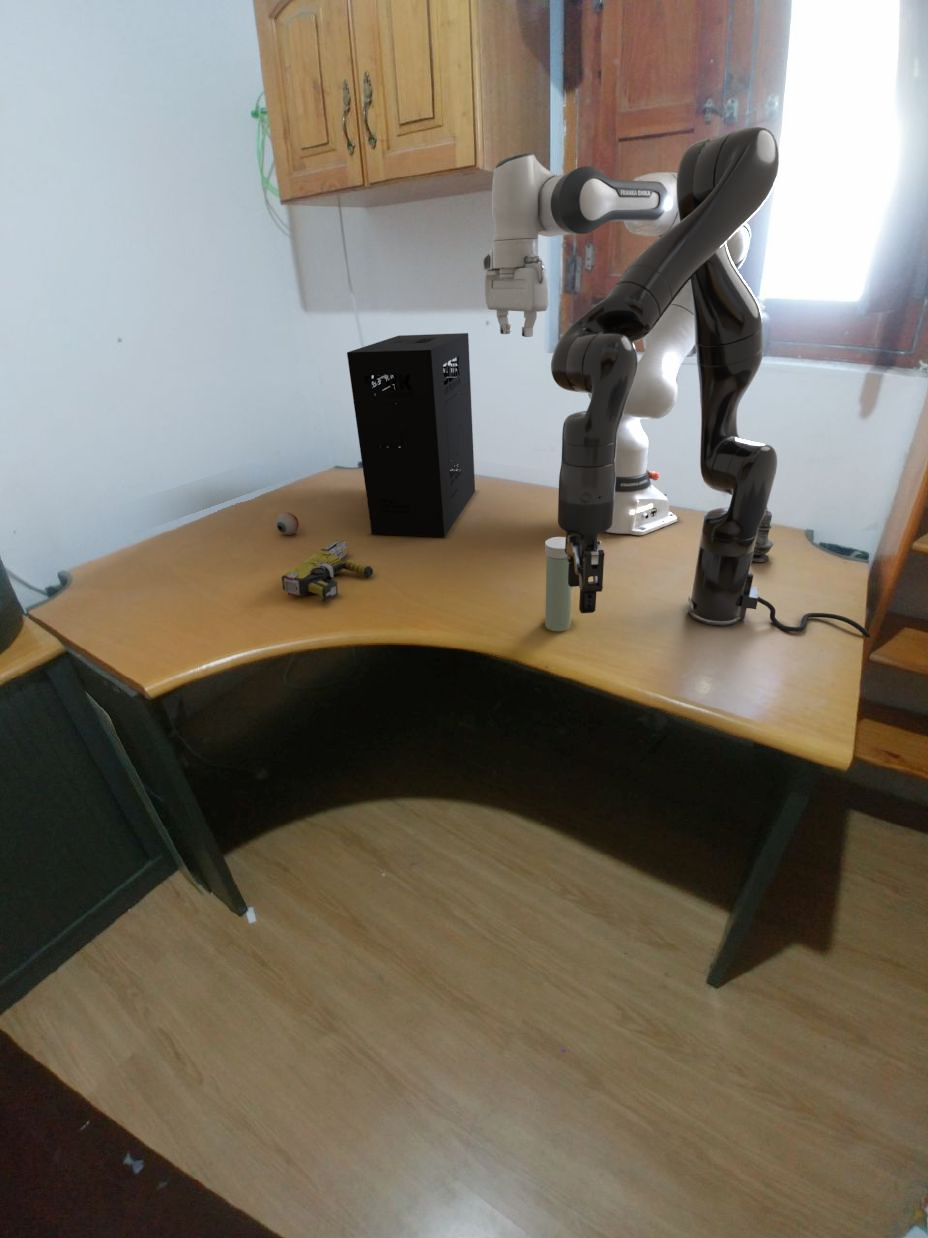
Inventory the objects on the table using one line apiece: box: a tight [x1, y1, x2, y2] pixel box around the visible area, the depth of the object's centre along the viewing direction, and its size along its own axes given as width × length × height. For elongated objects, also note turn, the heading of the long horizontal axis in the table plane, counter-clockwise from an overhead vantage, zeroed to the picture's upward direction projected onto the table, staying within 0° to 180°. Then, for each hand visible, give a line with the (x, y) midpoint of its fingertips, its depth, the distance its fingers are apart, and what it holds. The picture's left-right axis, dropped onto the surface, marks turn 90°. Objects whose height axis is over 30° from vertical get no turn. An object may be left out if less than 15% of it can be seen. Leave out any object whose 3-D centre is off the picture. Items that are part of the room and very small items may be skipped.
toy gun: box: [281, 539, 374, 603], centre depth 138 cm, size 5×24×15 cm
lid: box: [544, 536, 567, 559], centre depth 108 cm, size 5×5×2 cm
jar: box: [544, 555, 573, 632], centre depth 112 cm, size 5×5×17 cm
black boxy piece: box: [346, 332, 476, 538], centre depth 164 cm, size 38×20×45 cm, turn 167°
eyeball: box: [275, 511, 300, 536], centre depth 163 cm, size 6×6×6 cm
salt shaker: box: [752, 507, 774, 563], centre depth 134 cm, size 6×6×12 cm
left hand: (516, 335), depth 125 cm, fingers open, 8 cm apart
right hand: (580, 598), depth 90 cm, fingers open, 8 cm apart
